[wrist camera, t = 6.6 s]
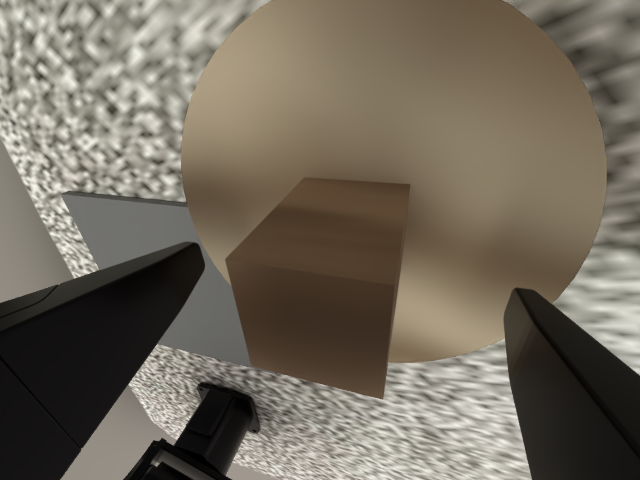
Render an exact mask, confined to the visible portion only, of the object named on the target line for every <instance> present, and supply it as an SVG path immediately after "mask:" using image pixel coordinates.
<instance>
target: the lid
mask: <svg viewBox="0 0 640 480" xmlns="http://www.w3.org/2000/svg"><path fill="white" fill-rule="evenodd" d="M181 170H182V178H183V187H184V193H185V197H186V201H187V205H188V210H189V213H190V215H191V218H192V221H193V224H194V227H195V230H196V232H197V234H198V236H199V238H200V240H201V242H202V244H203V246H204V248H205V250H206V252H207V253H208V255H209V257H210V258H211V260H212V262H213V263H214V265H215V266H216V268H217V269H218V270H219V272H220V273H221V274H222V276H223V277H224V278H225V280H226V281H227V282H228V283H229V284H230V285H231V287H232V290H233V294H234V298H235V302H236V306H237V310H238V314H239V318H240V322H241V326H242V330H243V334H244V338H245V342H246V346H247V351H248V355H249V359H250V363H251V366H253V367H257V368H260V369H264V370H268V371H272V372H276V373H280V374H284V375H288V376H292V377H296V378H300V379H304V380H308V381H312V382H316V383H320V384H324V385H328V386H332V387H335V388H339V389H343V390H347V391H351V392H355V393H359V394H363V395H367V396H371V397H375V398H379V399H383V395H384V388H385V381H386V374H387V367H388V362H395V363H413V362H424V361H434V360H440V359H445V358H451V357H456V356H459V355H462V354H466V353H469V352H473V351H476V350H479V349H481V348H484V347H486V346H488V345H491V344H493V343H496V342H498V341H500V340H502V339H504V338H505V332H504V322H503V317H504V312H505V309H506V306H507V303H508V300H509V298H510V295H511V292H512V290H513V289H514V288H516V287H519V288H526V289H533V290H535V291H536V292H538V293H539V294H540V295H541V296H543V297H544V298H545V299H546V300H547V301H549V302H550V303H551V304H552V303H553V302H554V301H555V300H556V299H557V298H558V297H559V296H560V295H561V294H562V292H563V291H564V290H565V289H566V287H567V286H568V285H569V284H570V282H571V281H572V280H573V279H574V278H575V276H576V274H577V273H578V271H579V269H580V268H581V266H582V264H583V262H584V261H585V259H586V257H587V256H588V254H589V252H590V249H591V247H592V244H593V242H594V239H595V237H596V234H597V232H598V229H599V226H600V223H601V218H602V213H603V208H604V203H605V199H606V188H607V158H606V151H605V145H604V138H603V132H602V127H601V124H600V121H599V119H598V116H597V113H596V110H595V107H594V105H593V102H592V99H591V96H590V93H589V92H588V90H587V88H586V87H585V85H584V83H583V82H582V80H581V78H580V76H579V75H578V73H577V71H576V70H575V68H574V66H573V65H572V63H571V61H570V60H569V59H568V58H567V56H566V55H565V54H564V53H563V52H562V51H561V50H560V48H559V47H558V46H557V45H556V44H555V43H554V42H553V40H552V39H551V38H550V37H549V36H548V35H547V34H546V32H545V31H544V30H542V29H541V28H540V27H539V26H537V25H536V24H535V23H533V22H532V21H531V20H530V19H528V18H527V17H526V16H525V15H523V14H522V13H521V12H520V11H518V10H517V9H516V8H514V7H513V6H512V5H510V4H508V3H506V2H504V1H502V0H272V1H270V2H268V3H267V4H265V5H263V6H262V7H260V8H259V9H258V10H256V11H255V12H254V13H253V14H252V15H250V16H249V17H248V18H247V19H246V20H245V21H243V22H242V23H241V24H240V25H239V26H237V27H236V28H235V29H234V30H233V32H232V33H231V34H230V35H229V36H228V37H227V39H226V40H225V41H224V42H223V43H222V44H221V46H220V47H219V48H218V49H217V50H216V52H215V53H214V55H213V57H212V58H211V60H210V61H209V63H208V65H207V66H206V68H205V69H204V71H203V73H202V74H201V76H200V79H199V81H198V83H197V86H196V88H195V90H194V93H193V95H192V97H191V100H190V104H189V108H188V111H187V115H186V119H185V123H184V130H183V137H182V145H181Z"/></svg>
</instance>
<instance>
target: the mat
mask: <svg viewBox="0 0 640 480" xmlns="http://www.w3.org/2000/svg"><path fill="white" fill-rule="evenodd" d="M61 196H62V198H63V200H64V202H65V204H66V206H67V208H68V210H69V212H70V214H71V216H72V217H73V219H74V221H75V223H76V225H77V227H78V229H79V231H80V233H81V235H82V237H83V239H84V241H85V243H86V245H87V246H88V248H89V250H90V252H91V254H92V256H93V258H94V260H95V262H96V264H97V266H98V268H99V270H102V269H105V268H108V267H111V266H114V265H117V264H120V263H123V262H126V261H129V260H132V259H134V258H137V257H140V256H143V255H146V254H149V253H152V252H155V251H158V250H161V249H164V248H167V247H170V246H173V245H176V244H179V243H182V242H185V241H188V242H195V243H198V244H199V245H200V247H201V251H202V254H203V258H204V261H205V270H204V272H203V274H202V276H201V277H200V279H199V281H198V282H197V284H196V286H195V288H194V289H193V291H192V293H191V295H190V296H189V298H188V300H187V301H186V303H185V305H184V306H183V308H182V310H181V311H180V313H179V314H178V316H177V317H176V318H175V320H174V321H173V323H172V324H171V325H170V327H169V328H168V330H167V331H166V332H165V334H164V335H163V336H162V338H161V339H160V341H159V342H158V343H157V344H160V345H164V346H168V347H172V348H176V349H180V350H183V351H187V352H191V353H195V354H199V355H203V356H207V357H211V358H215V359H219V360H223V361H227V362H231V363H235V364H238V365H242V366H246V367H250V368H254V369H258V370H262V371H266V372H270V373H274V374H277V373H276V372H272V371H268V370H264V369H260V368H257V367H253V366H251V363H250V359H249V355H248V351H247V346H246V342H245V338H244V334H243V330H242V326H241V322H240V318H239V314H238V310H237V306H236V302H235V298H234V294H233V290H232V287H231V285H230V284H229V283H228V282H227V281H226V280H225V278H224V277H223V276H222V274H221V273H220V272H219V270H218V269H217V268H216V266H215V265H214V263H213V262H212V260H211V258H210V257H209V255H208V253H207V252H206V250H205V248H204V246H203V244H202V242H201V240H200V238H199V236H198V234H197V232H196V230H195V227H194V224H193V221H192V218H191V215H190V213H189V210H188V205H187V203H182V202H172V201H162V200H151V199H141V198H131V197H121V196H111V195H101V194H91V193H81V192H71V191H67V192H65V193H62V194H61Z"/></svg>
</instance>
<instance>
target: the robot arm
mask: <svg viewBox="0 0 640 480" xmlns="http://www.w3.org/2000/svg"><path fill="white" fill-rule="evenodd" d="M204 270H205V261H204V258H203V254H202V251H201V247H200V245H199V244H198V243H195V242H188V241H185V242H182V243H179V244H176V245H173V246H170V247H167V248H164V249H161V250H158V251H155V252H152V253H149V254H146V255H143V256H140V257H137V258H134V259H132V260H129V261H126V262H123V263H120V264H117V265H114V266H111V267H108V268H105V269H102V270H99V271H96V272H93V273H90V274H87V275H84V276H81V277H78V278H75V279H72V280H69V281H67V282H64V283H61V284H60V285H55V286H51V287H48V288H45V289H42V290H39V291H37V292H33V293H30V294H27V295H24V296H22V297H18V298H15V299H12V300H8V301H5V302H2V303H0V480H60V479H61V478H62V477H63V475H64V474H65V472H66V471H67V470H68V468H69V467H70V465H71V464H72V463H73V461H74V460H75V458H76V457H77V455H78V454H79V453H80V451H81V448H83V447H84V445H85V444H86V443H87V441H88V440H89V438H90V437H91V435H92V434H93V433H94V431H95V430H96V429H97V427H98V426H99V424H100V423H101V421H102V420H103V419H104V417H105V416H106V414H107V413H108V412H109V410H110V409H111V408H112V406H113V405H114V403H115V402H116V401H117V399H118V398H119V396H120V395H121V394H122V392H123V391H124V390H125V388H126V387H127V385H128V384H129V383H130V381H131V380H132V378H133V377H134V376H135V374H136V373H137V371H138V370H139V369H140V367H141V366H142V364H143V363H144V362H145V360H146V359H147V357H148V356H149V355H150V353H151V352H152V350H153V349H154V348H155V346H156V345H157V343H158V342H159V341H160V339H161V338H162V336H163V335H164V334H165V332H166V331H167V330H168V328H169V327H170V325H171V324H172V323H173V321H174V320H175V318H176V317H177V316H178V314H179V313H180V311H181V310H182V308H183V306H184V305H185V303H186V301H187V300H188V298H189V296H190V295H191V293H192V291H193V289H194V288H195V286H196V284H197V282H198V281H199V279H200V277H201V276H202V274H203V272H204ZM503 322H504V332H505V343H506V353H507V363H508V373H509V380H510V385H511V390H512V394H513V398H514V403H515V407H516V412H517V416H518V420H519V425H520V429H521V433H522V438H523V442H524V446H525V451H526V455H527V460H528V464H529V468H530V473H531V477H532V480H640V375H639V374H637V373H636V372H635V371H634V370H632V369H631V368H630V367H629V366H627V365H626V364H625V363H624V362H623V361H621V360H620V359H619V358H618V357H616V356H615V355H614V354H613V353H611V352H610V351H609V350H608V349H607V348H605V347H604V346H603V345H602V344H600V343H599V342H598V341H597V340H595V339H594V338H593V337H592V336H591V335H589V334H588V333H587V332H586V331H584V330H583V329H582V328H581V327H579V326H578V325H577V324H576V323H575V322H573V321H572V320H571V319H570V318H568V317H567V316H566V315H565V314H563V313H562V312H561V311H560V310H559V309H557V308H556V307H555V306H554V305H552V304H551V303H550V302H549V301H547V300H546V299H545V298H544V297H543V296H541V295H540V294H539V293H538V292H536V291H535V290H533V289H526V288H519V287H516V288H514V289H513V290H512V292H511V295H510V298H509V300H508V303H507V306H506V309H505V312H504V317H503ZM197 389H198V392H199V394H200V397H201V399H202V401H201V403H200V404H199V406H198V407H197V409H196V411H195V412H194V414H193V415H192V417H191V418H190V420H189V421H188V423H187V424H186V427H185V429H184V430H183V432H182V433H181V435H180V436H179V438H178V440H177V441H176V443H175V444H174V446H173V445H171V444H169V443H168V442H166V440H165V439H163V438H161V440H160V441H155V440H154V441H153V442H152V443H151V445H150V446H149V447H148V449H147V450H146V452H145V453H144V455H143V456H142V457H141V459H140V460H139V461H138V462H137V464H136V465H135V466H134V467H133V468H132V470H131V471H130V472H129V473H128V475H127V476H126V477H125V478H124V479H123V480H232V479H230V478H228V477H226V473H227V471H228V469H229V467H230V465H231V463H232V461H233V459H234V457H235V455H236V453H237V451H238V449H239V447H240V444H241V442H242V440H243V438H244V436H245V434H246V432H247V431H250V432H253V433H256V434H257V433H258V432H259V430H260V427H259V423H258V420H257V416H256V412H255V409H254V405H253V401H252V399H251V398H250V397H248V396H245V395H241V394H238V393H234V392H231V391H227V390H224V389H220V388H217V387H213V386H210V385H206V384H203V383H200V384H199V385H198V386H197ZM156 462H158V463H160V464H159V465H158V466H157V467H156V466H154V465H155V464H156Z"/></svg>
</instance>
